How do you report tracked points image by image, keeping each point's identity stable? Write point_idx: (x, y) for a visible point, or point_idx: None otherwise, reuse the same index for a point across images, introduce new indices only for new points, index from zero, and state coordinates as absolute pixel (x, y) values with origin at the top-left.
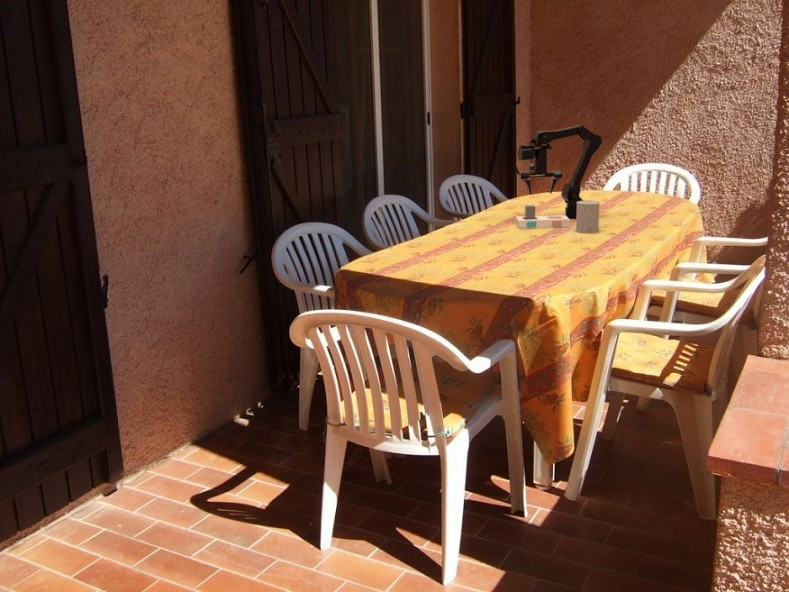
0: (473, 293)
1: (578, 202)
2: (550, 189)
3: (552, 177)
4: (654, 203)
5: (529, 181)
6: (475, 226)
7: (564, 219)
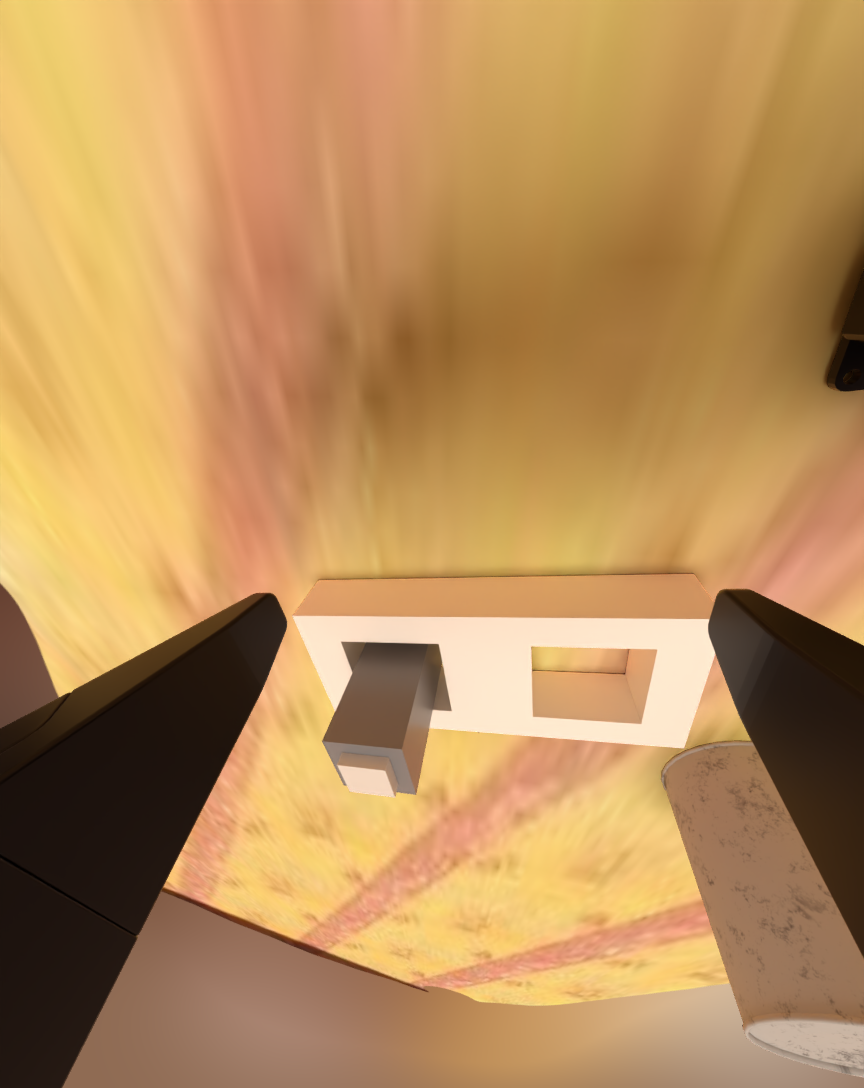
0: (358, 967)
1: (778, 1020)
2: (781, 715)
3: None
4: None
5: (50, 1069)
6: (124, 606)
7: (642, 744)
